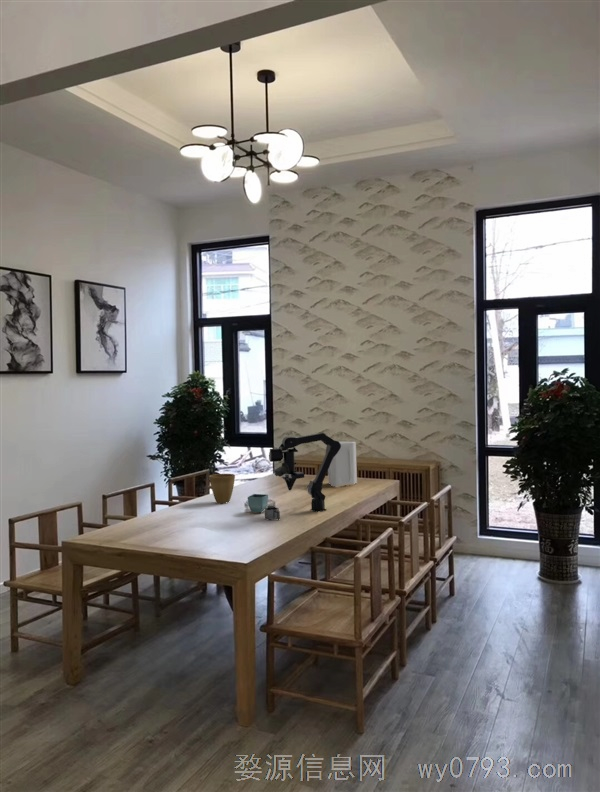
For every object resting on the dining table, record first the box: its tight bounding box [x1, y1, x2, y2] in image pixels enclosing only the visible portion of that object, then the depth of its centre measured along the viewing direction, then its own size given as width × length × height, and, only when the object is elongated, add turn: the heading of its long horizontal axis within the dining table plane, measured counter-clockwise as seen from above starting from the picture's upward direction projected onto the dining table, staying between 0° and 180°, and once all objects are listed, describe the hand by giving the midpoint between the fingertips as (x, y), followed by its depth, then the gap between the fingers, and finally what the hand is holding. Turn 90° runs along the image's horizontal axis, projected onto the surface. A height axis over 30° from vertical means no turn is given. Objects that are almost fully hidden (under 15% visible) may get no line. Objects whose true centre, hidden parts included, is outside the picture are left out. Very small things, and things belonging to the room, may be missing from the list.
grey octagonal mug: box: [264, 507, 281, 521], centre depth 322 cm, size 7×10×5 cm
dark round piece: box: [267, 504, 277, 510], centre depth 323 cm, size 5×5×6 cm
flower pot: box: [247, 493, 269, 513], centre depth 339 cm, size 9×9×9 cm
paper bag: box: [327, 441, 358, 486], centre depth 416 cm, size 19×15×28 cm
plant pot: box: [209, 473, 236, 504], centre depth 370 cm, size 15×15×16 cm
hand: (289, 490), depth 335 cm, fingers closed
